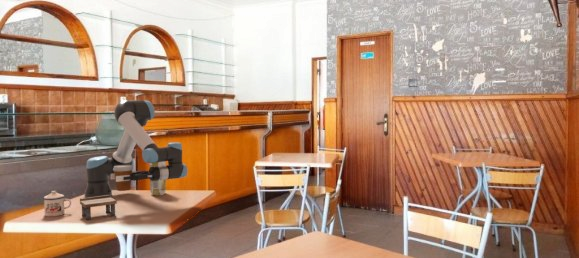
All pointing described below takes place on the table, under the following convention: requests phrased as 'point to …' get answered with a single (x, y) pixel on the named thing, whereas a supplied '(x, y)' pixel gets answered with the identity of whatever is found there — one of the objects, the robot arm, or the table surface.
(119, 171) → the disposable coffee cup
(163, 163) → the juice carton
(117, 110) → the robot arm
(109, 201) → the peg shelf
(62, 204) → the teacup with lid
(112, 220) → the table surface
